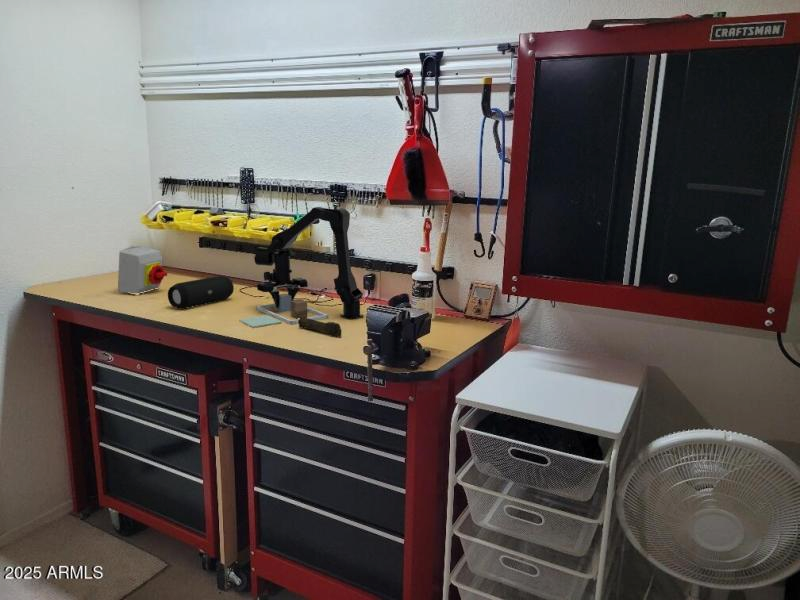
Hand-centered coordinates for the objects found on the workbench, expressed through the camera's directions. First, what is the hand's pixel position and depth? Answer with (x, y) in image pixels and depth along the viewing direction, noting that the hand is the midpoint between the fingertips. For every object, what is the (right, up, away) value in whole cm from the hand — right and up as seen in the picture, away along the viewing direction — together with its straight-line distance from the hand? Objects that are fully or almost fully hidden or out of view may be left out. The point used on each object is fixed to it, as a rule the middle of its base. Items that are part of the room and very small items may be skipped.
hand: (283, 306), depth 226 cm
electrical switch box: (-65, +6, +27) cm, 70 cm away
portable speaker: (-34, +1, +9) cm, 35 cm away
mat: (-5, -5, -17) cm, 19 cm away
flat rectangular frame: (+4, -2, -4) cm, 6 cm away
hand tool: (+18, -9, -27) cm, 34 cm away
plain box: (+7, -4, -9) cm, 12 cm away
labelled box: (0, -1, 0) cm, 2 cm away
